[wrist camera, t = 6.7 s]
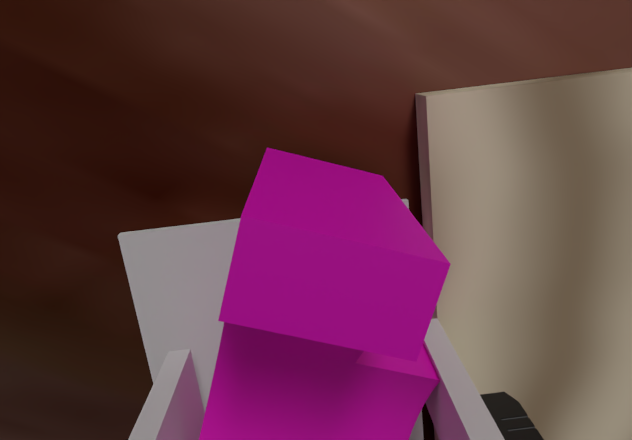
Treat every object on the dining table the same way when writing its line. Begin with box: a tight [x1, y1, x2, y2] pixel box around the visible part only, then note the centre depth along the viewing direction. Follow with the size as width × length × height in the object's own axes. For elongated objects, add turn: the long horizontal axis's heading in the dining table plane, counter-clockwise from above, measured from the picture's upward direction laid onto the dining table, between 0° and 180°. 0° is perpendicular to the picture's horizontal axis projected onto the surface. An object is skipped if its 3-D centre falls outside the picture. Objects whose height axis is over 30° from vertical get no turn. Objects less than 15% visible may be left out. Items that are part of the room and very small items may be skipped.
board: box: [415, 68, 632, 440], centre depth 18 cm, size 8×15×2 cm, turn 7°
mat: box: [118, 199, 424, 440], centre depth 19 cm, size 10×13×1 cm
